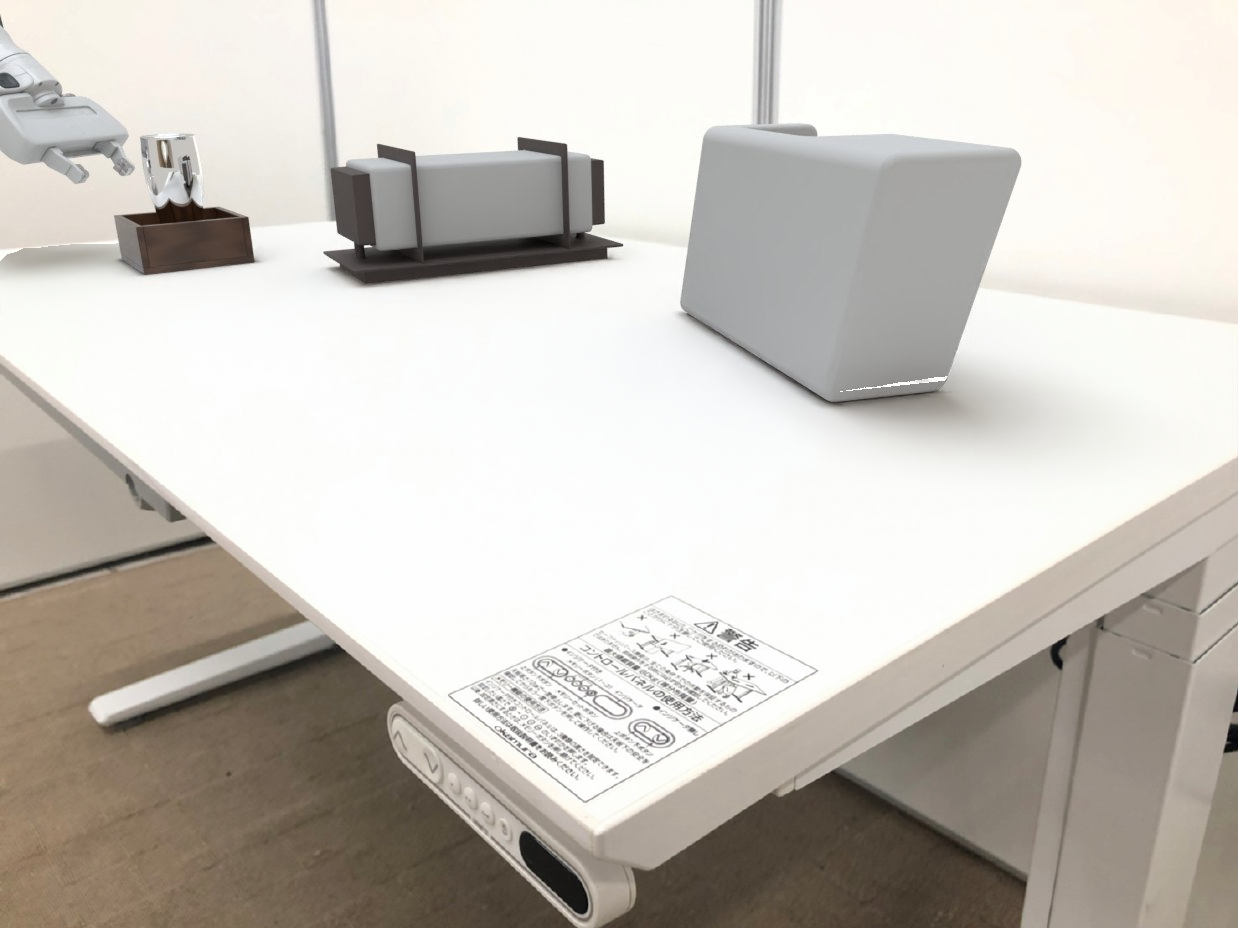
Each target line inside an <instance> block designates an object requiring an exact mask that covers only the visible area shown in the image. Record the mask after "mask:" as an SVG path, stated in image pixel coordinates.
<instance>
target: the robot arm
mask: <svg viewBox="0 0 1238 928" xmlns="http://www.w3.org/2000/svg"><path fill="white" fill-rule="evenodd" d="M4 27H5V26H4V23H3V21H2V15H0V152H1V153H2V154H4V155H5V157H7V158H9V160H11V161H13V162H16V163H17V164H21V165H23V166H24V165H32V164H40V163H43V164H45V166H47V167H48V168H49V169H52V170H54V171H55V172H57V173H59V174H61V175H64V176H66V178H68V179H69V180H70V181H71V182H72V183H73V184H75V185H79V184H84V183H86V182H87V179H89V178H90V172H89V171H88V170H87V169H85V167H84V166H83V165H82V164H81V163H75V162H73V161H72V160H71V159H77V158H78V159H79V158H85V157H86V158H87V157H93V156H99V155H103V156H104V157H105V158H106V159H110V160H111V162H112V163H113V167H112V169H113V170H114V171H116V172H117V174H118V175H119V176H120V177H127V176H131V175H132V173H133V172H134V171H135V169H136V167H135V164H134V163H132V162H131V160H129V159H128V157H127V155H126V153H125V150H124V148H123V146H124V145H125V144H126V142H127V141H128V139H129V137H130V134H129V131H128V130H127V128H126V126H124V125H123V124H122V123H121V122H120V121H119V120H118V119H116V118H115V116H113V115H112V114H111V113H110V112H109V111H107V110H106V109H105V108H104V107H102V106H101V105H100V104H99V103H97V102H96V101H95V100H92V99H91V98H89V97H87V96H82V95H81V96H80V95H76V94H74V93H65V94H63V86H62V84H61V83H60V81H59V80H58V79H57V78H56V77H55V76H54V75H53V74H51V73H50V71H48V70H47V69H46V68H45V67H44V66H43V65H42V64H41V63H40V62H39V61H38V60H37V59H36V58H35V57H34V56H33V55H32V54H31V53H29V52H28V51H26V50H25V49H23V48H21V47H20V46H19V45H17V44H16V43H15V42H14V41H13V39H12V37H11V36H10V34H9V33H8V31H6V29H5V28H4Z"/></svg>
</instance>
